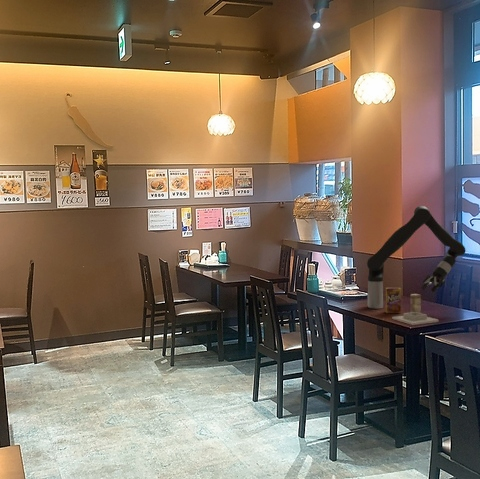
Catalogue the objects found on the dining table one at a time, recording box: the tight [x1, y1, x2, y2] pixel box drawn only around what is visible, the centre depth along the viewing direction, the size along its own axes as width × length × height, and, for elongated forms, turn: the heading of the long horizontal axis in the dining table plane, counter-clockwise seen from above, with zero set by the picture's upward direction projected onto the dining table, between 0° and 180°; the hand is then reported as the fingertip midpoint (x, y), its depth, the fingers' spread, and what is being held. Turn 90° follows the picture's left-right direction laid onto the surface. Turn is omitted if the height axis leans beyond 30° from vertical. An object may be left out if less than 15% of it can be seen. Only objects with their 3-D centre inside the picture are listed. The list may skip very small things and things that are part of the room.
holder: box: [391, 312, 439, 326], centre depth 332 cm, size 18×18×4 cm
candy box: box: [384, 287, 402, 314], centre depth 355 cm, size 9×4×15 cm, turn 81°
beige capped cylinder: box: [409, 293, 422, 313], centre depth 348 cm, size 4×4×12 cm
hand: (427, 290), depth 350 cm, fingers open, 8 cm apart
